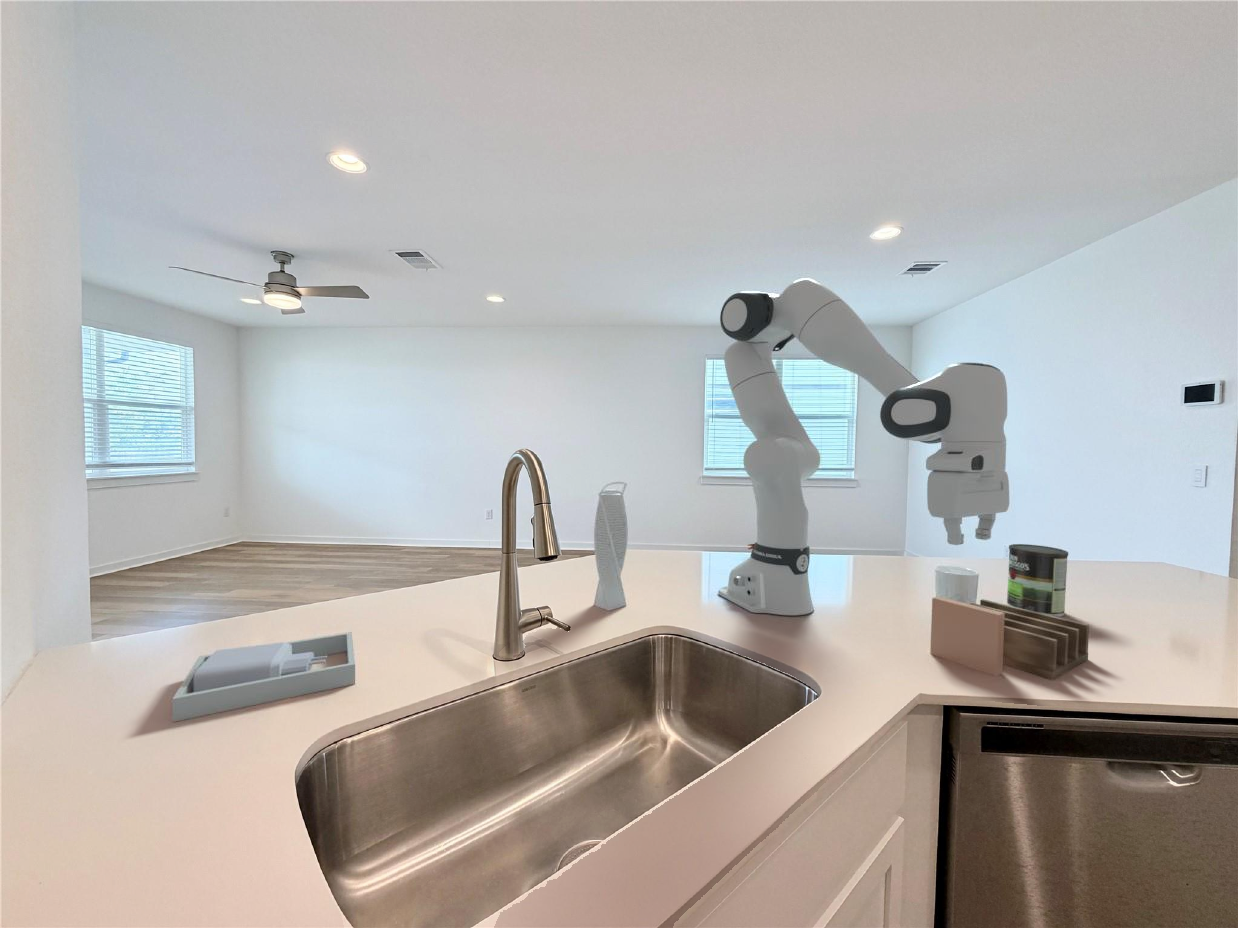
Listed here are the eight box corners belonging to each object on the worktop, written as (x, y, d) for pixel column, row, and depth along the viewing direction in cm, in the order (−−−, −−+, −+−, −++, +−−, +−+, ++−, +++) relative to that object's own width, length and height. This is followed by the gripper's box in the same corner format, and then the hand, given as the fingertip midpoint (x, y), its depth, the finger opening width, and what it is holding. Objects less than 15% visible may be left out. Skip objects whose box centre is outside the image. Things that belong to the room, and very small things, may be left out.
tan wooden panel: (930, 653, 86) (932, 597, 86) (936, 651, 87) (938, 596, 87) (996, 676, 78) (999, 614, 78) (1002, 673, 79) (1004, 612, 79)
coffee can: (1025, 615, 107) (1028, 552, 106) (996, 601, 117) (998, 543, 117) (1078, 618, 105) (1081, 554, 105) (1043, 603, 116) (1046, 544, 115)
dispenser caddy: (199, 675, 75) (199, 656, 75) (351, 648, 85) (351, 631, 85) (172, 721, 62) (172, 698, 62) (355, 683, 73) (355, 664, 73)
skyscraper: (612, 597, 116) (614, 480, 115) (634, 605, 111) (636, 482, 110) (587, 604, 111) (588, 482, 110) (608, 613, 105) (610, 484, 104)
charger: (320, 688, 72) (193, 707, 66) (331, 662, 81) (219, 677, 75) (320, 656, 72) (192, 673, 66) (331, 634, 80) (218, 647, 75)
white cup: (963, 610, 110) (964, 566, 110) (985, 622, 102) (987, 575, 102) (926, 608, 111) (927, 565, 111) (946, 620, 103) (947, 574, 103)
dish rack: (943, 643, 91) (944, 611, 90) (982, 629, 98) (983, 599, 98) (1052, 679, 77) (1054, 641, 77) (1087, 659, 85) (1089, 624, 84)
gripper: (980, 459, 90) (977, 533, 90) (919, 459, 79) (917, 543, 80) (1022, 459, 84) (1019, 539, 85) (963, 460, 74) (960, 551, 74)
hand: (969, 541), depth 82 cm, fingers open, 8 cm apart
